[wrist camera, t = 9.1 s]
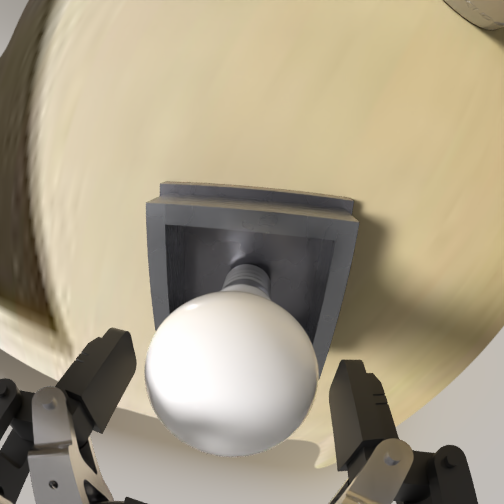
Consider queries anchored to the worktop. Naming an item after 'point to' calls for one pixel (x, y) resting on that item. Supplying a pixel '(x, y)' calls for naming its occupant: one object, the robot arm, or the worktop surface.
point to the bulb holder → (252, 249)
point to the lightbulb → (232, 369)
